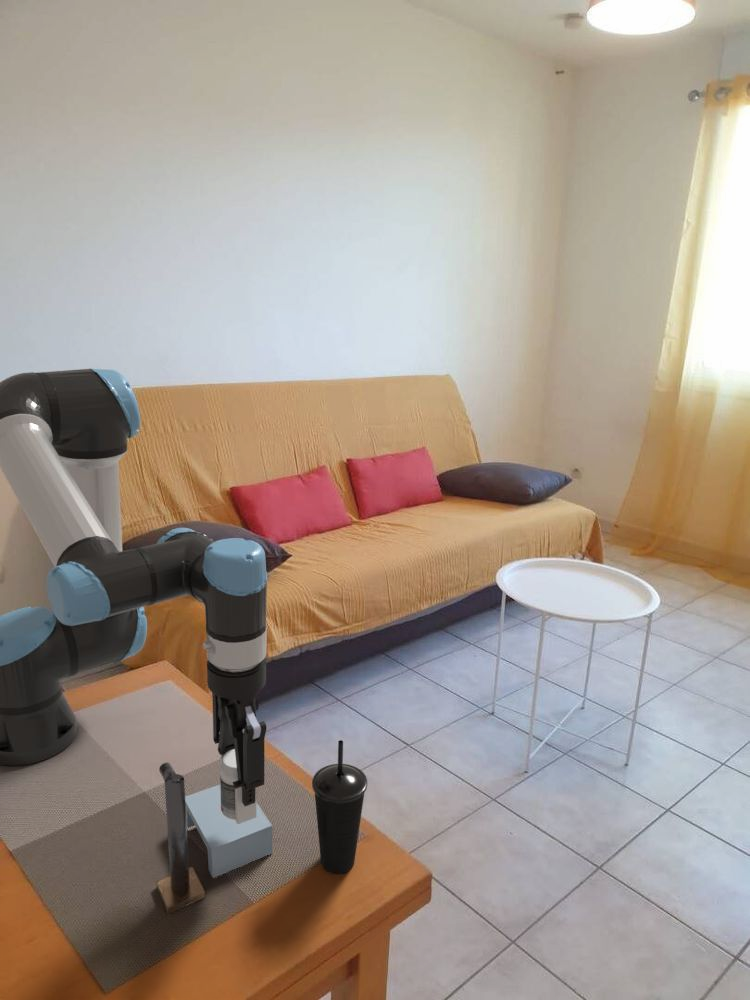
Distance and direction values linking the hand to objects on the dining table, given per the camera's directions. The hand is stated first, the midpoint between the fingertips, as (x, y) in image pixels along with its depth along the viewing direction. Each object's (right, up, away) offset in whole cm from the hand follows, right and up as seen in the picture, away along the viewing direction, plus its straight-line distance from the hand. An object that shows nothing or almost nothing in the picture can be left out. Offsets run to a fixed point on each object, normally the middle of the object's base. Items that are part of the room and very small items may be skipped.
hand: (238, 806), depth 99 cm
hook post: (-7, -11, -3) cm, 13 cm away
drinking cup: (+14, -10, +4) cm, 17 cm away
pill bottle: (0, 0, 0) cm, 1 cm away
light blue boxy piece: (-3, -8, +7) cm, 11 cm away
